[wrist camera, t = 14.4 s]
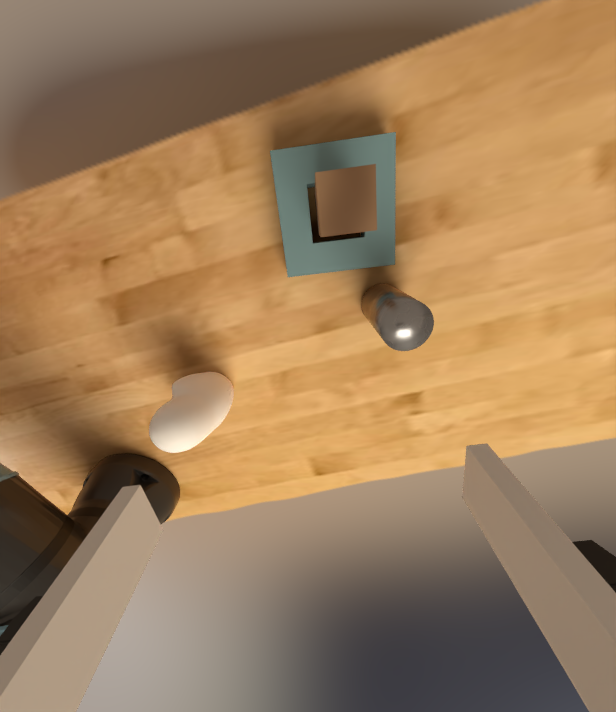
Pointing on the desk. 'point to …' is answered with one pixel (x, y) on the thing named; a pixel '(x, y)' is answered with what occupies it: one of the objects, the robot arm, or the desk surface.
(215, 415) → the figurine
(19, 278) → the desk surface
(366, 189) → the square bit
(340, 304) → the desk surface
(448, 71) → the desk surface
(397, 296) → the round bit
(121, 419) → the desk surface
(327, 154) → the socket block
